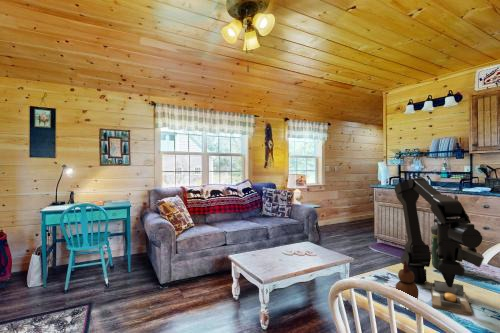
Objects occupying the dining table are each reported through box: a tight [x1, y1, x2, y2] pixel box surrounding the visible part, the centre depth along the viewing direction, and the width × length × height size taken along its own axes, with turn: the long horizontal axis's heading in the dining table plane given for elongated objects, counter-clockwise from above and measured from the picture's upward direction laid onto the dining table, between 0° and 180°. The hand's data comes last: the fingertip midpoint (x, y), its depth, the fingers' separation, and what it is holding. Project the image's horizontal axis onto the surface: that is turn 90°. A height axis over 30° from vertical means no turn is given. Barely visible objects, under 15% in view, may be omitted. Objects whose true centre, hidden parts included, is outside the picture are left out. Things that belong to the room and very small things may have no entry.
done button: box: [445, 293, 456, 302], centre depth 87 cm, size 3×3×2 cm
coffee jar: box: [430, 224, 441, 270], centre depth 121 cm, size 10×8×19 cm
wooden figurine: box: [394, 261, 419, 300], centre depth 90 cm, size 7×6×15 cm
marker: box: [430, 280, 465, 296], centre depth 95 cm, size 9×3×3 cm, turn 57°
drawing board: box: [430, 286, 473, 316], centre depth 91 cm, size 10×15×2 cm, turn 147°
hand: (449, 286), depth 87 cm, fingers closed
